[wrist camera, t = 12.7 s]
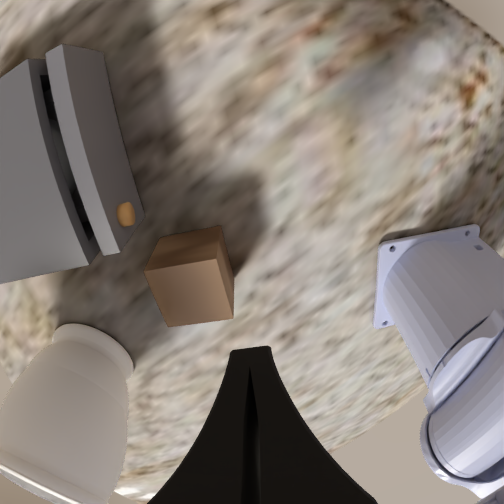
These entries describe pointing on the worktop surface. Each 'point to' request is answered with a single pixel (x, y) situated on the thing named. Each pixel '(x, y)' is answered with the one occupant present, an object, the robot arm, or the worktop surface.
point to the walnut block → (192, 277)
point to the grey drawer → (93, 145)
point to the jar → (68, 418)
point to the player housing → (35, 185)
